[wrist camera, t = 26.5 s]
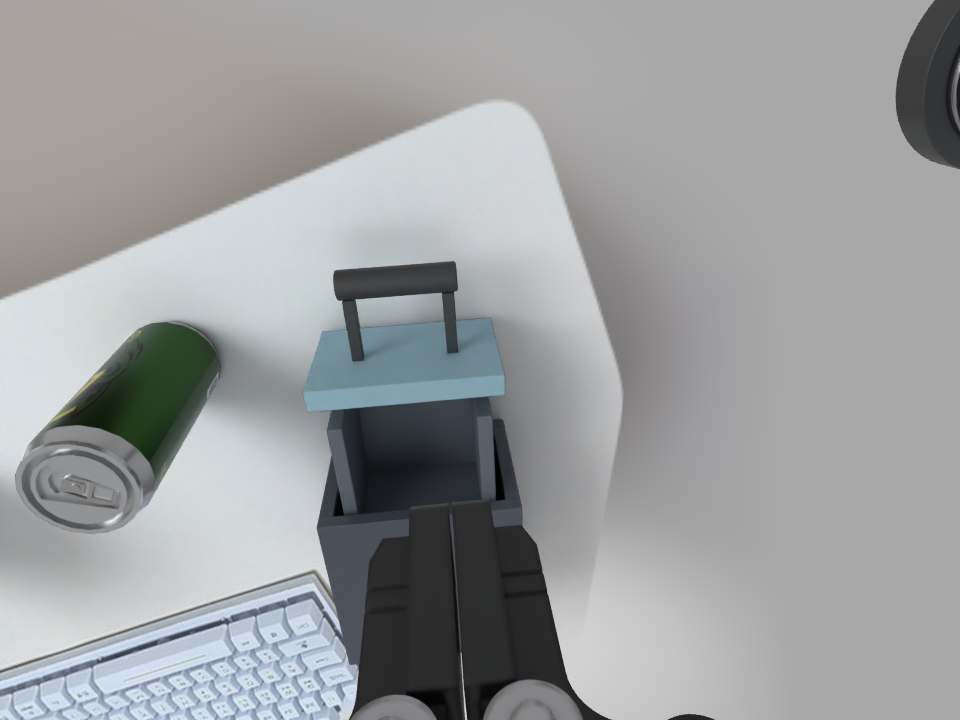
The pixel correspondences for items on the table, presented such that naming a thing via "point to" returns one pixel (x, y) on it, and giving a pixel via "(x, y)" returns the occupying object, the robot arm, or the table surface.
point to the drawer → (407, 396)
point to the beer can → (119, 431)
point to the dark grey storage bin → (361, 534)
